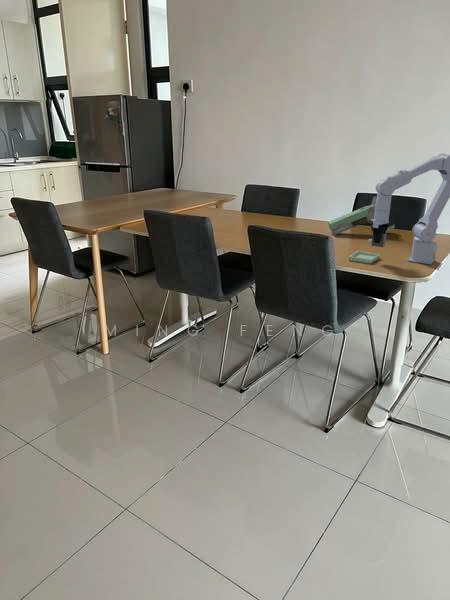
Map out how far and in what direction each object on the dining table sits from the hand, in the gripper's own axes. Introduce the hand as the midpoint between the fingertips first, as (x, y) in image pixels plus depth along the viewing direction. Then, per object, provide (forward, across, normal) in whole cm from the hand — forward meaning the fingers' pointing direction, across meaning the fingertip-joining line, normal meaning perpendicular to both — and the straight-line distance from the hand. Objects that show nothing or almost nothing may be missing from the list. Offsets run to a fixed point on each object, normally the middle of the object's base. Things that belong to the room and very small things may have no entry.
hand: (378, 241), depth 191 cm
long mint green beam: (+9, -47, -23) cm, 53 cm away
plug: (+2, 0, 0) cm, 2 cm away
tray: (+9, 0, -5) cm, 10 cm away
